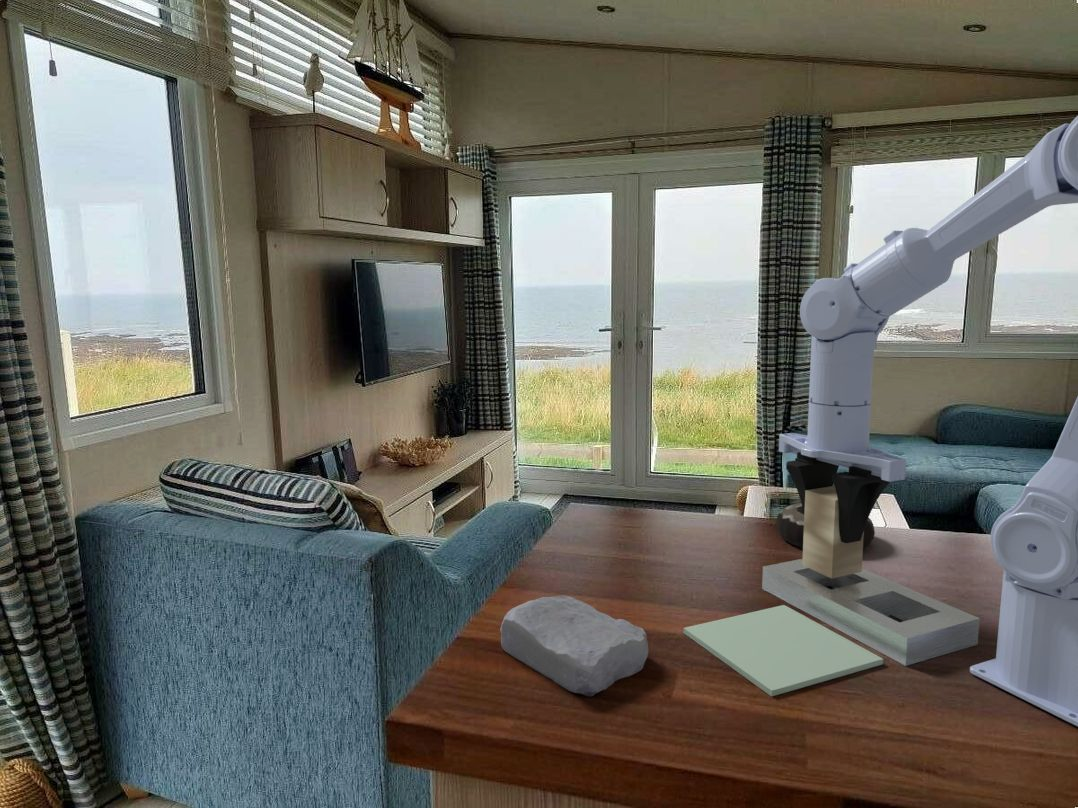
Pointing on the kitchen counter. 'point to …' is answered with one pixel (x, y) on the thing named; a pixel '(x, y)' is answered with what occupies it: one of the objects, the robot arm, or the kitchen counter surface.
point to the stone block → (573, 643)
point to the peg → (827, 537)
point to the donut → (793, 526)
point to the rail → (875, 611)
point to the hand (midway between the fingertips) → (833, 534)
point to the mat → (781, 649)
